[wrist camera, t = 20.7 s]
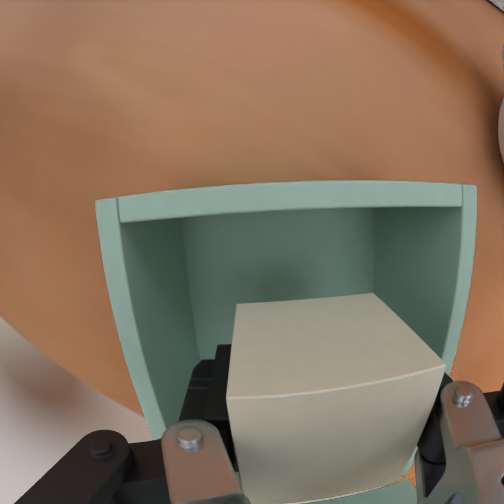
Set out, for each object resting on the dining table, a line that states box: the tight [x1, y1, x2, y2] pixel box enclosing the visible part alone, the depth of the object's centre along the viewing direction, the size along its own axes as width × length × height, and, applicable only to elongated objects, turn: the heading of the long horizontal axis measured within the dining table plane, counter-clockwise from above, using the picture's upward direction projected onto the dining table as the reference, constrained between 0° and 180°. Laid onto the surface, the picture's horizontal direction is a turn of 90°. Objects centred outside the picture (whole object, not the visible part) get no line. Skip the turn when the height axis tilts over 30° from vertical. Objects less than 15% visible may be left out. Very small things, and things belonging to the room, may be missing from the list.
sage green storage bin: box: [95, 180, 477, 489], centre depth 14 cm, size 16×13×9 cm
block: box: [226, 293, 446, 504], centre depth 7 cm, size 4×4×4 cm
